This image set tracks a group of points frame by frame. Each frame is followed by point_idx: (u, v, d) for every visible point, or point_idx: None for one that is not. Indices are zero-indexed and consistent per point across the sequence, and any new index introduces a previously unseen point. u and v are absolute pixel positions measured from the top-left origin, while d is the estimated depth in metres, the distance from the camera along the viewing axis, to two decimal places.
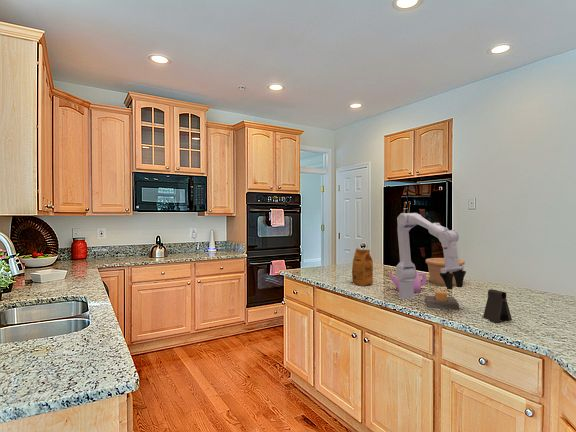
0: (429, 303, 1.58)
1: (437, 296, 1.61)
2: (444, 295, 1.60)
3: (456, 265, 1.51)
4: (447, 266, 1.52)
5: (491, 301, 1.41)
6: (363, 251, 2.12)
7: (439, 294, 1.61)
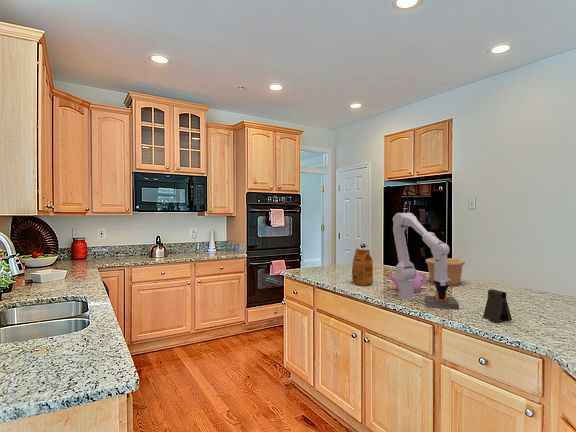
0: (429, 303, 1.58)
1: (437, 296, 1.61)
2: None
3: None
4: (440, 278, 1.60)
5: (491, 301, 1.41)
6: (363, 251, 2.12)
7: None
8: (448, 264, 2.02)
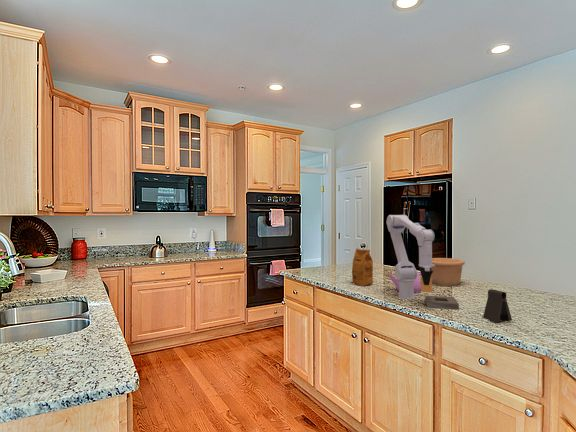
0: (429, 303, 1.58)
1: (422, 282, 1.62)
2: None
3: (431, 263, 1.62)
4: (425, 264, 1.61)
5: (491, 301, 1.41)
6: (363, 251, 2.12)
7: None
8: (448, 264, 2.02)
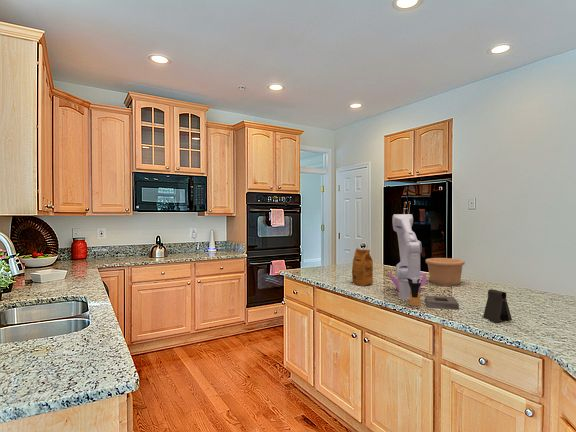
0: (429, 303, 1.58)
1: (411, 297, 1.62)
2: (417, 296, 1.61)
3: None
4: (413, 275, 1.61)
5: (491, 301, 1.41)
6: (363, 251, 2.12)
7: None
8: (448, 264, 2.02)
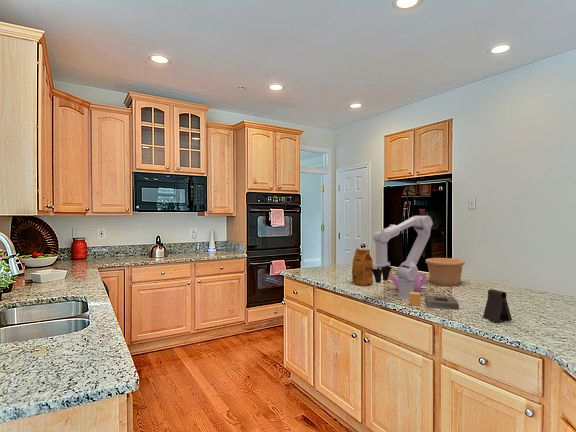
0: (429, 303, 1.58)
1: (411, 297, 1.62)
2: (417, 296, 1.61)
3: (385, 262, 1.72)
4: (378, 262, 1.73)
5: (491, 301, 1.41)
6: (363, 251, 2.12)
7: (413, 295, 1.62)
8: (448, 264, 2.02)
